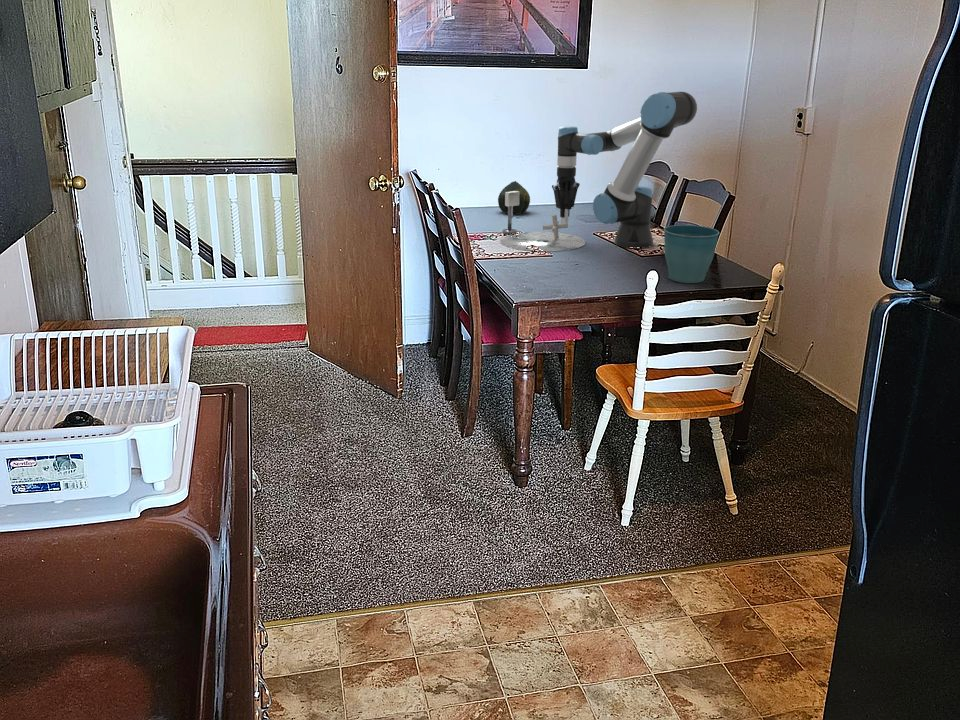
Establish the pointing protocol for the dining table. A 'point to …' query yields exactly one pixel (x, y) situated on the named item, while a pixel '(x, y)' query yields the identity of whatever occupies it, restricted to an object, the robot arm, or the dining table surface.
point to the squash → (523, 198)
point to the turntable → (543, 241)
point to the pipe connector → (555, 226)
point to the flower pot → (689, 251)
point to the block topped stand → (511, 208)
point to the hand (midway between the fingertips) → (564, 225)
